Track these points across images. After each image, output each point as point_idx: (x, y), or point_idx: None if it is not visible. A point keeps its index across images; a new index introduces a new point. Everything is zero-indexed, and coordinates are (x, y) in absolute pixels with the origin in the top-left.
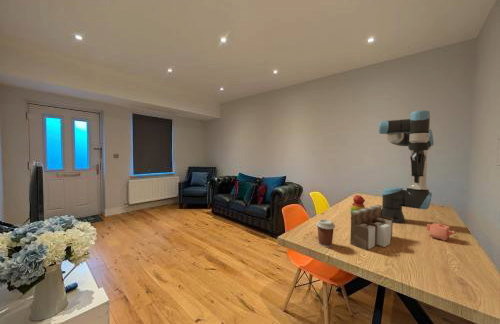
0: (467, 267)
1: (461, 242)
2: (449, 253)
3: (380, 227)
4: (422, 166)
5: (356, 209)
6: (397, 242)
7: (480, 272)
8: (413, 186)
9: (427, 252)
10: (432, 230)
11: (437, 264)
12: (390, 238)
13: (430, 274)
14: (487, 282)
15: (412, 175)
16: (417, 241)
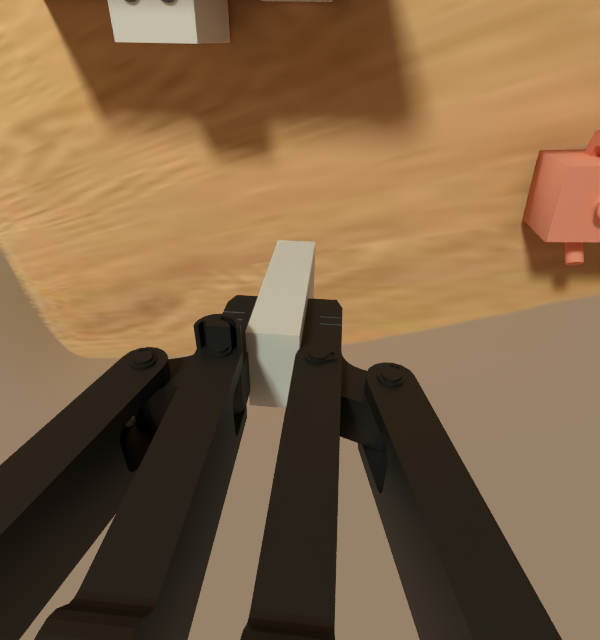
0: None
1: None
2: (365, 252)
3: (113, 8)
4: (408, 577)
5: None
6: (304, 56)
7: None
8: (273, 255)
9: (297, 196)
10: (551, 172)
11: (210, 245)
12: (324, 1)
13: (113, 247)
14: None
15: (202, 333)
16: (415, 123)
